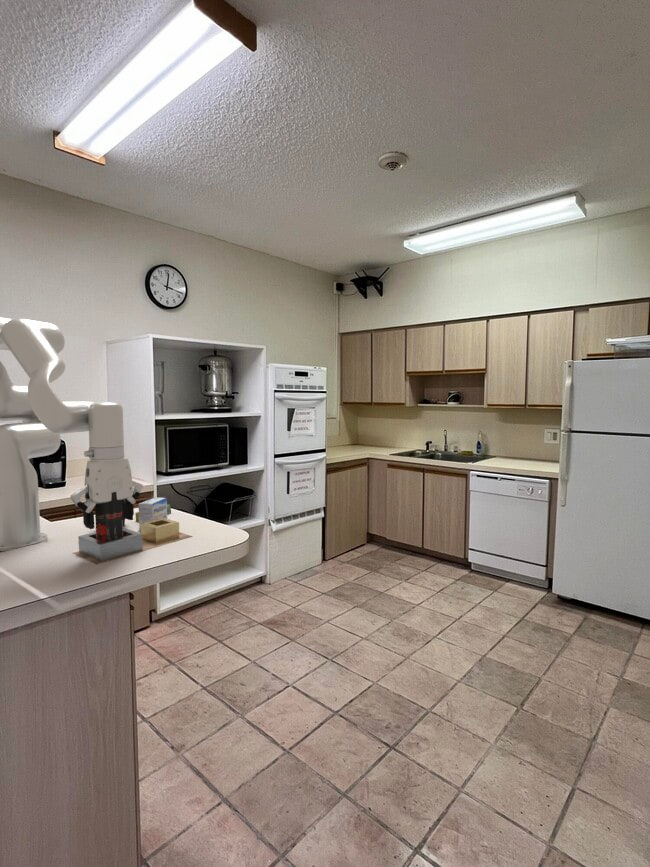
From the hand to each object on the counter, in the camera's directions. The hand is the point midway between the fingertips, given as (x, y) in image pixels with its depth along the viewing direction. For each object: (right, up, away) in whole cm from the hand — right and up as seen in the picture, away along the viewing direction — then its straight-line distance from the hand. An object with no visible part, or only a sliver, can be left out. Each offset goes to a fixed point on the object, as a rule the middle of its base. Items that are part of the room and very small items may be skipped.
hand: (109, 523), depth 114 cm
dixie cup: (-9, -6, +22) cm, 24 cm away
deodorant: (0, -7, +1) cm, 7 cm away
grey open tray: (0, -7, +1) cm, 7 cm away
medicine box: (+3, -6, +22) cm, 23 cm away
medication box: (-1, -6, +32) cm, 32 cm away
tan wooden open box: (+8, -6, +11) cm, 15 cm away
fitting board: (+4, -7, +6) cm, 10 cm away
